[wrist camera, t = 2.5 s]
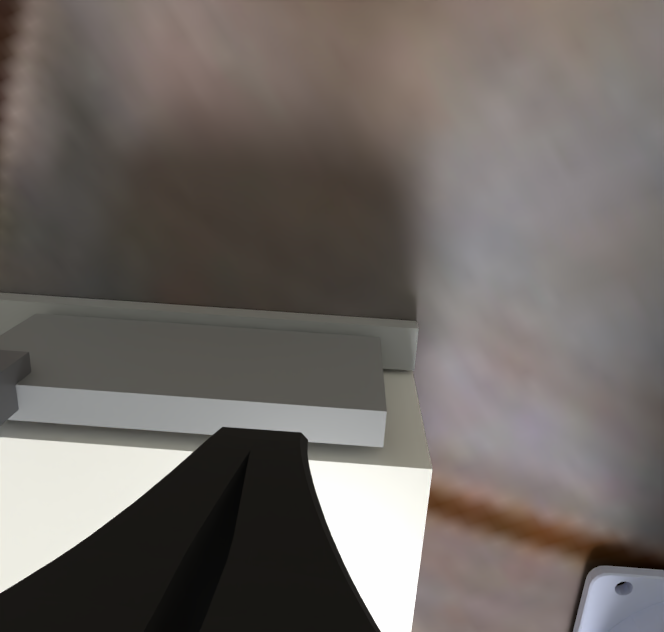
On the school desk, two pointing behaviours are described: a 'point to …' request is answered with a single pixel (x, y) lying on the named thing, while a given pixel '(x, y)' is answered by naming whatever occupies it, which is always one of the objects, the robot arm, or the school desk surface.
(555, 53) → the school desk surface
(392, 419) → the camera housing
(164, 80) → the school desk surface
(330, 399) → the side door
